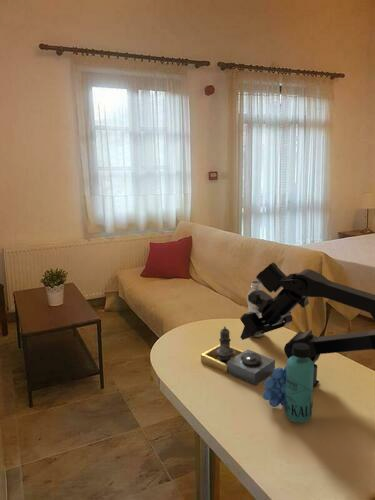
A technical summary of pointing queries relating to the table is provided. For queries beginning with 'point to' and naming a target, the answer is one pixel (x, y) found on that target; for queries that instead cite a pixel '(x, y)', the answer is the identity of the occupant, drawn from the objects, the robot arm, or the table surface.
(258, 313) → the plastic bottle
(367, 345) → the robot arm
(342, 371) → the table surface
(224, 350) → the dark grey tall piece
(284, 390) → the grapes
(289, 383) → the beverage bottle
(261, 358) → the two-tone flat frame block
